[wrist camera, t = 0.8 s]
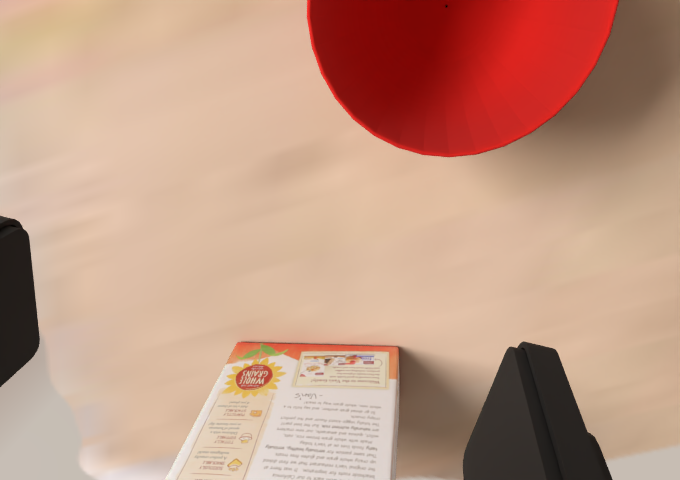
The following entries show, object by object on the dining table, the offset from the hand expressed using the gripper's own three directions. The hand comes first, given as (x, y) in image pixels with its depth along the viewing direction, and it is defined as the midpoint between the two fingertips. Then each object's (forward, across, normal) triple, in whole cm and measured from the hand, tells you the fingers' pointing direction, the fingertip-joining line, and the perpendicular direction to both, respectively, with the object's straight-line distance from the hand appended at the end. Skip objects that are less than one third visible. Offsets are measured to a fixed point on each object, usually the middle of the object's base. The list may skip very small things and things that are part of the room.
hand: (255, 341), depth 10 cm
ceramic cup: (+26, -4, -8) cm, 28 cm away
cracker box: (+27, 0, +23) cm, 35 cm away
